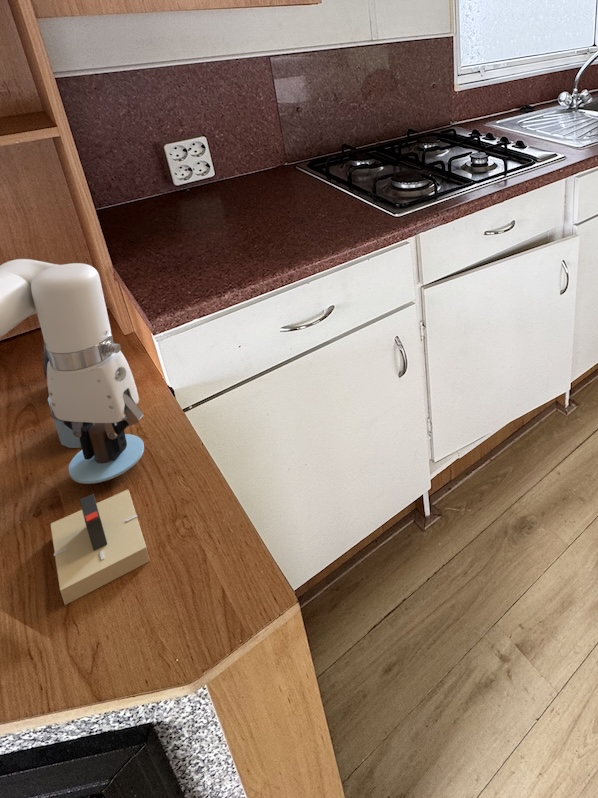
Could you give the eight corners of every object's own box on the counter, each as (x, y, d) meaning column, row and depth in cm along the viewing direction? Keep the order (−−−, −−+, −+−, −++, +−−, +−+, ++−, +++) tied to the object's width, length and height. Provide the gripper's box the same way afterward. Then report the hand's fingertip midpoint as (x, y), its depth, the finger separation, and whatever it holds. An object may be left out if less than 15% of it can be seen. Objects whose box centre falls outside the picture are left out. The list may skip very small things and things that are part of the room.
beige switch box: (54, 540, 78) (49, 523, 77) (133, 504, 84) (128, 487, 82) (64, 608, 69) (58, 590, 68) (151, 563, 75) (147, 545, 74)
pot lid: (54, 474, 85) (44, 438, 83) (116, 432, 94) (108, 398, 92) (99, 495, 82) (90, 458, 80) (159, 450, 91) (152, 415, 89)
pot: (47, 441, 95) (34, 398, 92) (100, 407, 103) (90, 367, 100) (85, 456, 92) (73, 413, 89) (137, 420, 100) (127, 380, 97)
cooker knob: (87, 525, 77) (79, 497, 75) (100, 519, 78) (92, 491, 76) (93, 551, 73) (85, 523, 72) (107, 544, 74) (99, 516, 72)
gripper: (155, 337, 85) (173, 438, 91) (44, 332, 85) (70, 433, 91) (122, 368, 78) (144, 475, 84) (2, 362, 78) (33, 469, 84)
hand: (106, 452), depth 88 cm, fingers closed on pot lid, 3 cm apart
